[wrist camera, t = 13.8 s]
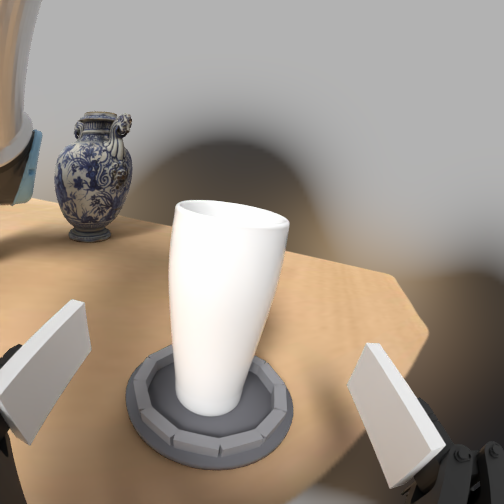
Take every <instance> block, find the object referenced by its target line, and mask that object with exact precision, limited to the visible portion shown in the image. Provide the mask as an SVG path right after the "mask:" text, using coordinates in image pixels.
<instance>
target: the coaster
mask: <svg viewBox="0 0 504 504" xmlns="http://www.w3.org/2000/svg"><path fill="white" fill-rule="evenodd" d="M126 406H127V410H128V414H129V417H130V420H131V422H132V424H133V427H134V428H135V430H136V431H137V433H138V434H139V436H140V437H141V438H142V439H143V440H144V441H145V442H146V443H147V444H148V445H149V446H150V447H151V448H153V449H154V450H155V451H156V452H158V453H159V454H161V455H163V456H164V457H166V458H168V459H170V460H172V461H174V462H177V463H179V464H182V465H185V466H189V467H192V468H198V469H204V470H228V469H235V468H240V467H244V466H247V465H250V464H252V463H255V462H257V461H259V460H261V459H263V458H265V457H266V456H268V455H269V454H270V453H272V452H273V451H274V450H275V449H276V448H277V447H278V446H279V445H280V444H281V442H282V441H283V439H284V438H285V436H286V434H287V432H288V430H289V428H290V425H291V423H292V418H293V403H292V399H291V396H290V393H289V391H288V389H287V387H286V385H285V383H284V382H283V381H282V379H281V378H280V377H279V376H278V375H277V373H276V372H275V371H274V370H273V368H272V367H271V366H270V365H269V364H268V363H266V361H264V360H262V359H260V358H258V357H257V356H255V355H254V358H253V361H252V364H251V366H250V369H249V372H248V375H247V378H246V381H245V384H244V387H243V391H242V395H241V399H240V401H239V403H238V405H237V406H236V407H235V408H234V409H233V410H232V411H230V412H229V413H227V414H224V415H221V416H215V417H208V416H201V415H198V414H195V413H193V412H191V411H189V410H188V409H186V408H185V407H184V406H183V405H182V404H181V403H180V401H179V400H178V398H177V395H176V391H175V369H174V359H173V348H172V345H170V346H167V347H165V348H163V349H161V350H159V351H157V352H155V353H153V354H151V355H149V356H148V357H146V359H145V361H144V362H143V363H141V364H140V365H139V366H138V367H137V368H136V370H135V371H134V372H133V374H132V375H131V377H130V379H129V381H128V385H127V388H126Z"/></svg>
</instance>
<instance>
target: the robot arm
mask: <svg viewBox="0 0 504 504" xmlns="http://www.w3.org/2000/svg"><path fill="white" fill-rule="evenodd" d="M41 2H42V0H0V205H11V206H13V205H15V204H21V203H26V202H28V201H29V200H30V199H31V197H32V194H33V188H34V180H35V174H36V168H37V162H38V156H39V151H40V145H41V140H42V132H41V131H37V130H33V131H32V129H33V128H32V121H31V119H30V117H29V116H28V115H27V114H26V113H25V112H24V111H23V109H24V91H25V80H26V71H27V64H28V57H29V50H30V46H31V40H32V35H33V31H34V27H35V23H36V19H37V15H38V11H39V8H40V5H41ZM91 350H92V349H91V343H90V337H89V331H88V325H87V317H86V310H85V303H84V302H81V301H77V300H74V299H71V300H70V301H69V302H68V303H67V304H66V305H65V306H63V307H62V308H61V309H60V310H59V311H58V312H57V313H56V314H55V315H54V316H53V317H52V318H50V319H49V320H48V321H47V322H46V323H45V324H44V325H43V326H42V327H41V328H40V329H39V330H38V331H37V332H36V333H35V334H34V335H33V336H32V337H31V338H30V339H29V340H28V341H27V342H26V343H25V344H24V345H23V346H22V345H20V344H18V345H16V346H14V347H12V348H10V349H9V350H8V351H7V352H6V353H5V354H4V355H3V358H2V357H1V358H0V504H27V502H26V500H25V497H24V494H23V491H22V487H21V484H20V481H19V477H18V474H17V470H16V466H15V462H14V458H13V453H12V448H11V443H10V438H9V435H8V433H7V431H8V430H9V428H10V429H11V430H12V432H13V433H14V435H15V436H16V437H17V438H19V439H20V440H22V441H23V442H25V443H27V444H28V445H31V443H32V442H33V440H34V438H35V436H36V435H37V433H38V431H39V429H40V428H41V426H42V424H43V423H44V421H45V419H46V418H47V416H48V414H49V413H50V411H51V410H52V408H53V406H54V405H55V403H56V402H57V400H58V398H59V397H60V395H61V394H62V392H63V391H64V389H65V388H66V386H67V385H68V383H69V382H70V380H71V379H72V377H73V376H74V374H75V373H76V371H77V370H78V368H79V367H80V366H81V364H82V363H83V361H84V360H85V358H86V357H87V356H88V354H89V353H90V351H91ZM347 387H348V389H349V391H350V394H351V396H352V398H353V401H354V403H355V405H356V407H357V410H358V412H359V414H360V417H361V419H362V421H363V424H364V426H365V428H366V431H367V433H368V435H369V438H370V440H371V443H372V445H373V448H374V450H375V453H376V455H377V457H378V460H379V462H380V465H381V467H382V470H383V472H384V475H385V477H386V480H387V482H388V485H389V488H393V487H397V486H400V485H403V484H405V483H406V482H408V481H409V480H410V479H411V478H412V477H414V479H415V482H414V483H413V484H411V485H410V486H409V487H407V488H406V489H405V490H404V491H403V492H402V493H401V495H404V494H405V493H406V492H408V491H409V490H410V491H409V493H408V494H407V495H406V496H407V499H406V502H405V504H504V451H503V449H502V447H501V446H500V445H499V444H498V443H496V442H493V441H492V442H488V443H487V444H486V445H485V446H484V447H483V448H482V449H481V450H476V451H470V450H469V449H468V448H467V447H466V446H464V445H461V444H457V445H454V444H453V442H452V441H451V440H450V438H449V436H448V434H447V433H446V431H445V430H444V428H443V426H442V425H441V423H440V422H439V421H438V419H437V417H436V416H435V415H434V414H433V411H432V409H431V408H430V407H429V405H428V404H427V403H426V402H425V401H423V400H422V399H421V398H416V396H415V395H414V393H413V392H412V390H411V389H410V387H409V386H408V384H407V383H406V381H405V380H404V378H403V377H402V375H401V374H400V372H399V371H398V370H397V368H396V367H395V365H394V364H393V362H392V361H391V359H390V358H389V357H388V355H387V354H386V352H385V351H384V349H383V348H382V347H381V345H380V344H379V343H366V345H365V347H364V349H363V351H362V354H361V356H360V358H359V360H358V362H357V365H356V367H355V369H354V371H353V373H352V375H351V377H350V379H349V381H348V383H347ZM479 481H480V487H479V488H478V489H476V490H474V487H473V486H474V485H475V484H477V483H478V482H479Z"/></svg>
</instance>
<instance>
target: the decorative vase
mask: <svg viewBox="0 0 504 504" xmlns="http://www.w3.org/2000/svg"><path fill="white" fill-rule="evenodd" d="M131 122H132V119H131V116H130V115H127V114H126V113H125V114H121V115H120V116H119V118H117V115H116V114H114V113H109V112H87V113H85V115H84V117H82V118H80V120H78V122H77V123H76V125H75V128H74V130H75V131H74V134H75V137H76V138H77V139H78V140H77V142H75V143H73V144H70V145H68V146H67V147H65V148H64V149H63V151H62V152H61V153H60V155H59V157H58V159H57V163H56V168H55V191H56V195H57V200H58V203H59V206H60V209H61V211H62V213H63V215H64V217H65V218H66V220H67V221H68V222H69V223H70V224H71V225H73V226H74V228H73V229H72V230H70V232H69V238H70V239H72V240H75V241H80V242H98V241H103V240H106V239H108V238H109V237H110V236H111V233H110V231H109V230H108V229H106V228H105V226H107V225H108V224H109V223H111V222H112V221H113V220H114V219H115V218H116V216H117V215H118V214H119V212H120V210H121V208H122V206H123V204H124V202H125V199H126V197H127V194H128V191H129V188H130V183H131V178H132V160H131V156H130V154H129V152H128V150H127V149H126V148H125V147H124V144H123V140H122V138H123V137H125V136H126V135H127V133H129V131H130V127H131V125H132V123H131ZM124 133H125V134H124ZM121 134H124V135H121ZM77 135H78V136H79V137H78V136H77Z"/></svg>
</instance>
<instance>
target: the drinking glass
mask: <svg viewBox="0 0 504 504" xmlns="http://www.w3.org/2000/svg"><path fill="white" fill-rule="evenodd" d="M288 230H289V221H288V220H287V219H286V218H285V217H283V216H281V215H279V214H276V213H273V212H270V211H267V210H263V209H260V208H255V207H251V206H246V205H241V204H235V203H228V202H219V201H207V200H190V201H182V202H180V203H178V204H177V205H176V207H175V214H174V220H173V226H172V233H171V242H170V252H169V272H168V282H169V307H170V322H171V335H172V348H173V359H174V369H175V391H176V395H177V398H178V400H179V401H180V403H181V404H182V405H183V406H184V407H185V408H186V409H188V410H189V411H191V412H193V413H195V414H198V415H201V416H208V417H215V416H221V415H224V414H227V413H229V412H230V411H232V410H233V409H234V408H235V407H236V406H237V405H238V403H239V401H240V399H241V395H242V391H243V387H244V384H245V381H246V378H247V375H248V372H249V369H250V366H251V364H252V361H253V358H254V355H255V352H256V349H257V347H258V344H259V341H260V338H261V335H262V332H263V329H264V326H265V323H266V320H267V318H268V315H269V312H270V309H271V306H272V302H273V299H274V296H275V293H276V289H277V286H278V282H279V278H280V274H281V270H282V265H283V260H284V255H285V249H286V243H287V236H288Z"/></svg>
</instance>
